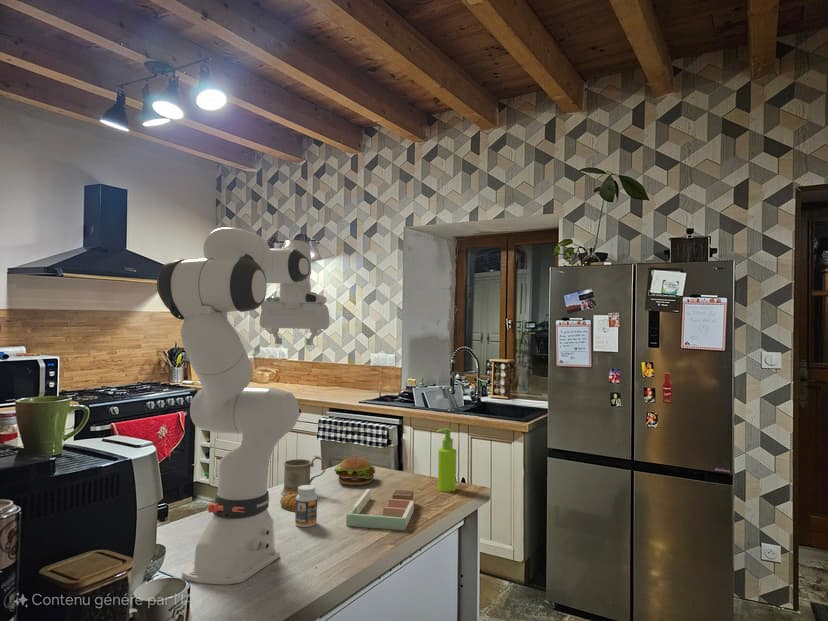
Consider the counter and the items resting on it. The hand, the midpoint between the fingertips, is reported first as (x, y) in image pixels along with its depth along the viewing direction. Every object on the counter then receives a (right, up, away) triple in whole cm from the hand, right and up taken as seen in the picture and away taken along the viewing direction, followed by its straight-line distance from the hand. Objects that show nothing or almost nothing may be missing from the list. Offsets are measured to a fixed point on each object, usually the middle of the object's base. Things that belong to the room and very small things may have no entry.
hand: (293, 344), depth 162 cm
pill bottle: (+6, -48, -11) cm, 50 cm away
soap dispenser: (+45, -50, +23) cm, 71 cm away
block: (+32, -49, +6) cm, 59 cm away
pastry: (0, -49, +3) cm, 49 cm away
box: (+26, -49, -1) cm, 55 cm away
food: (+14, -49, +31) cm, 60 cm away
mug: (0, -49, +16) cm, 51 cm away
